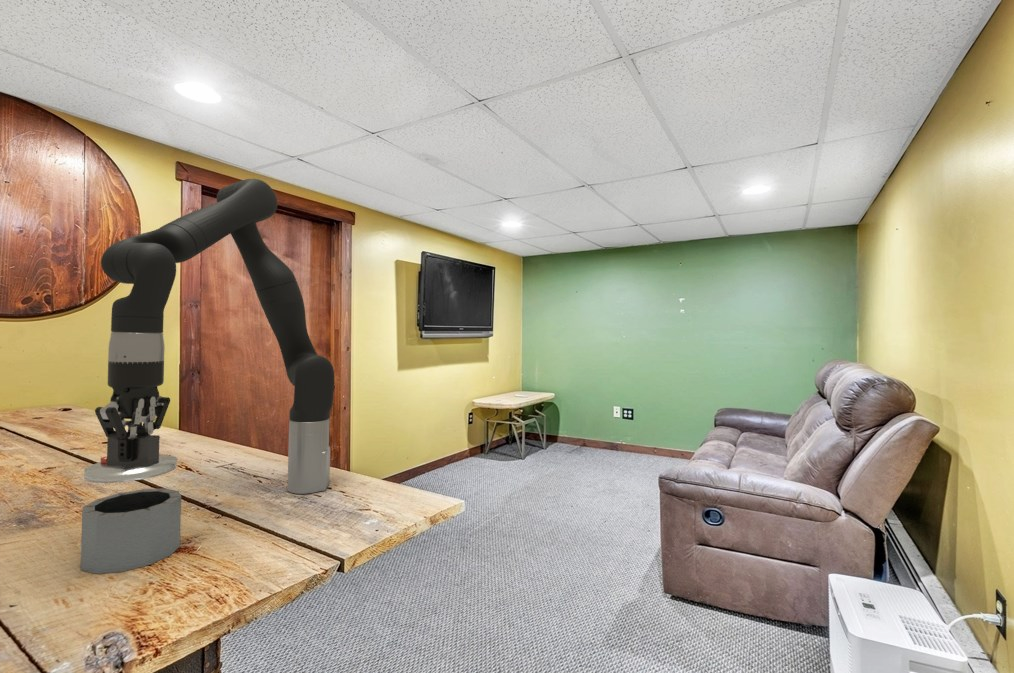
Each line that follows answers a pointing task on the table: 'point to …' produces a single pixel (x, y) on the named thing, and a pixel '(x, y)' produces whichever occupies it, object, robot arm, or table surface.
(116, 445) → the lid
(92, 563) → the pot
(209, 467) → the table surface
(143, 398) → the robot arm
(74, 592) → the table surface
